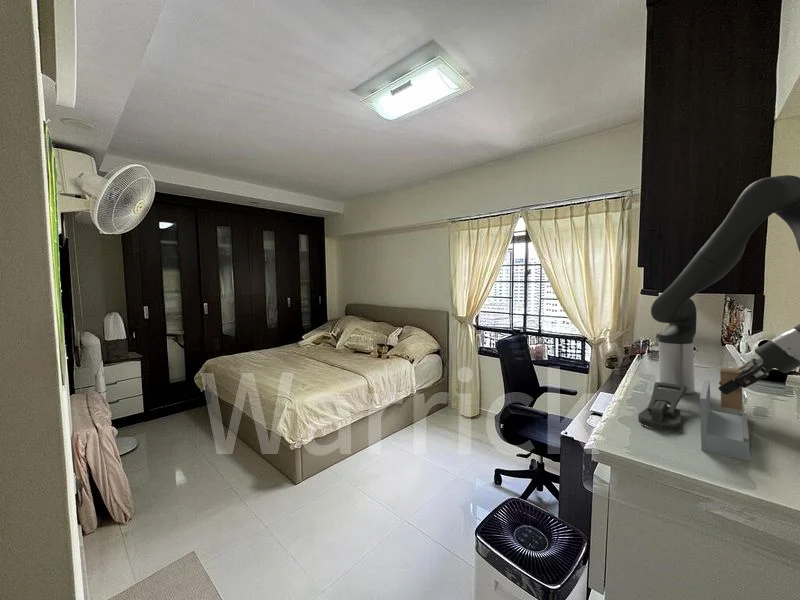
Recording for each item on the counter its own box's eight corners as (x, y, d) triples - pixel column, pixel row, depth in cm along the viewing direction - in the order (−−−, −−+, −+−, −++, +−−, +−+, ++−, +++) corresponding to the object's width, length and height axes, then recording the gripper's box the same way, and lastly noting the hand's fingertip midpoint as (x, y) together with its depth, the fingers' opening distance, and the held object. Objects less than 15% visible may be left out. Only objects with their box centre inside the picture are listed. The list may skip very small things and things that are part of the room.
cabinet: (721, 401, 90) (720, 367, 90) (746, 405, 87) (745, 369, 87) (721, 407, 87) (720, 371, 86) (747, 411, 83) (746, 373, 83)
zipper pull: (689, 385, 97) (678, 409, 80) (690, 407, 97) (679, 435, 80) (652, 380, 103) (635, 401, 86) (653, 400, 104) (635, 425, 87)
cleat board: (705, 424, 85) (704, 380, 84) (746, 432, 79) (745, 384, 79) (701, 450, 72) (699, 398, 72) (749, 461, 67) (748, 405, 67)
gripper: (769, 335, 86) (709, 372, 95) (775, 343, 76) (707, 383, 85) (801, 356, 82) (735, 393, 91) (811, 368, 72) (736, 407, 82)
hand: (722, 388), depth 88 cm, fingers closed on cabinet, 5 cm apart
